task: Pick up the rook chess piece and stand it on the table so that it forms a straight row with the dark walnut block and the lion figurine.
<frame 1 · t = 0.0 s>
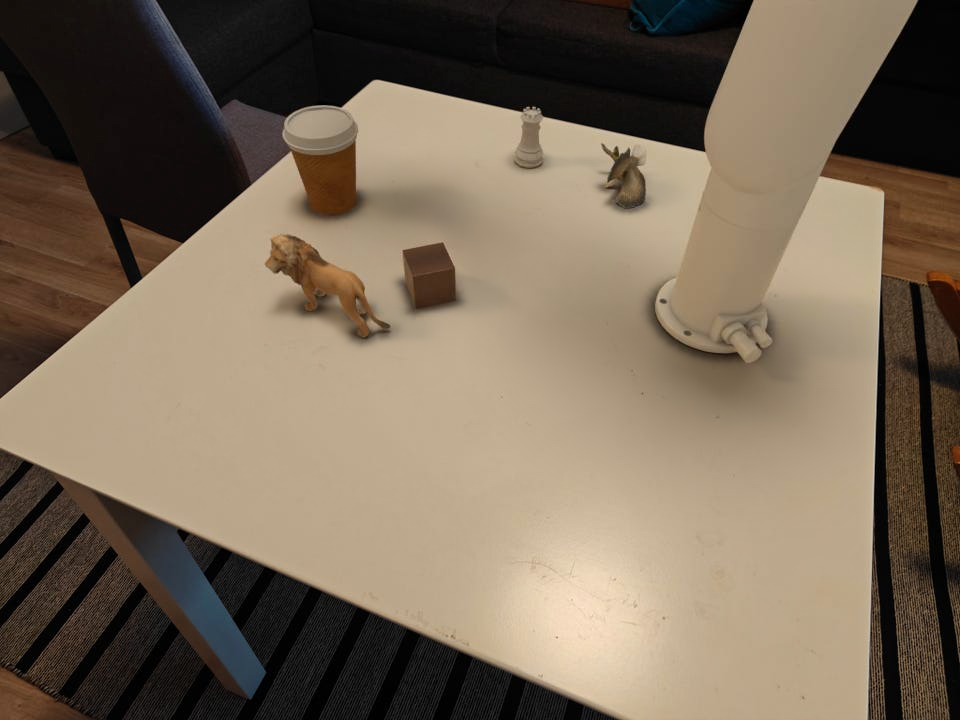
rook chess piece: (528, 162, 98), on the table
horned animal figurine: (620, 190, 94), on the table
lion figurine: (331, 313, 76), on the table
walnut block: (430, 291, 78), on the table
disposable coffee cup: (333, 203, 91), on the table
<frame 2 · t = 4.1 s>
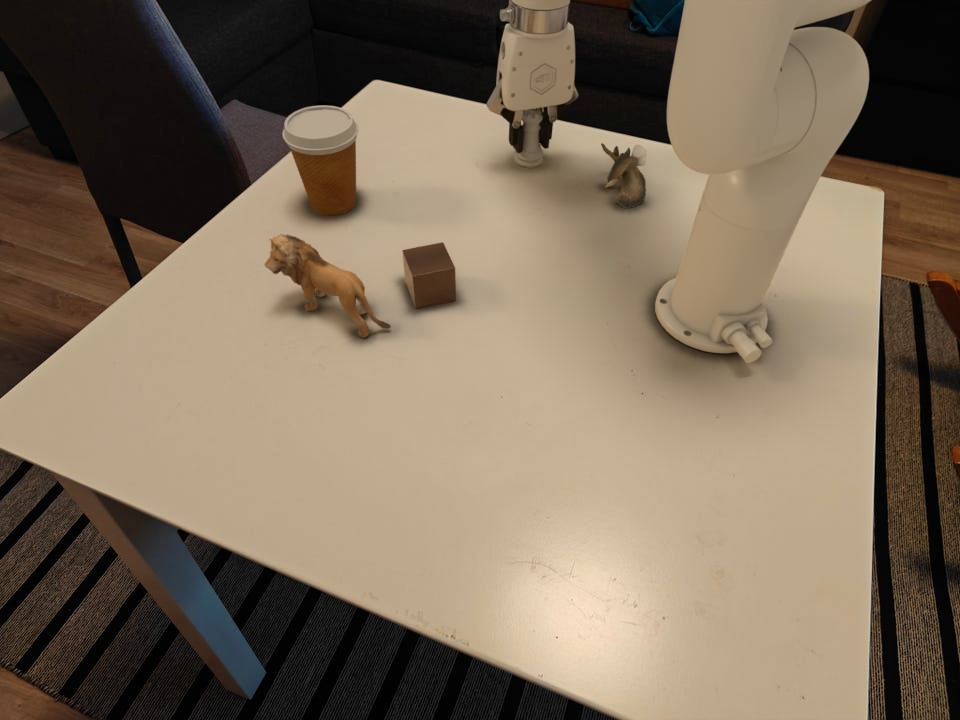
hand: (529, 145, 96), 3 cm above the table, tool pointing down, fingers closed on rook chess piece, 3 cm apart
rook chess piece: (528, 162, 98), on the table, touching gripper
everything else where it was.
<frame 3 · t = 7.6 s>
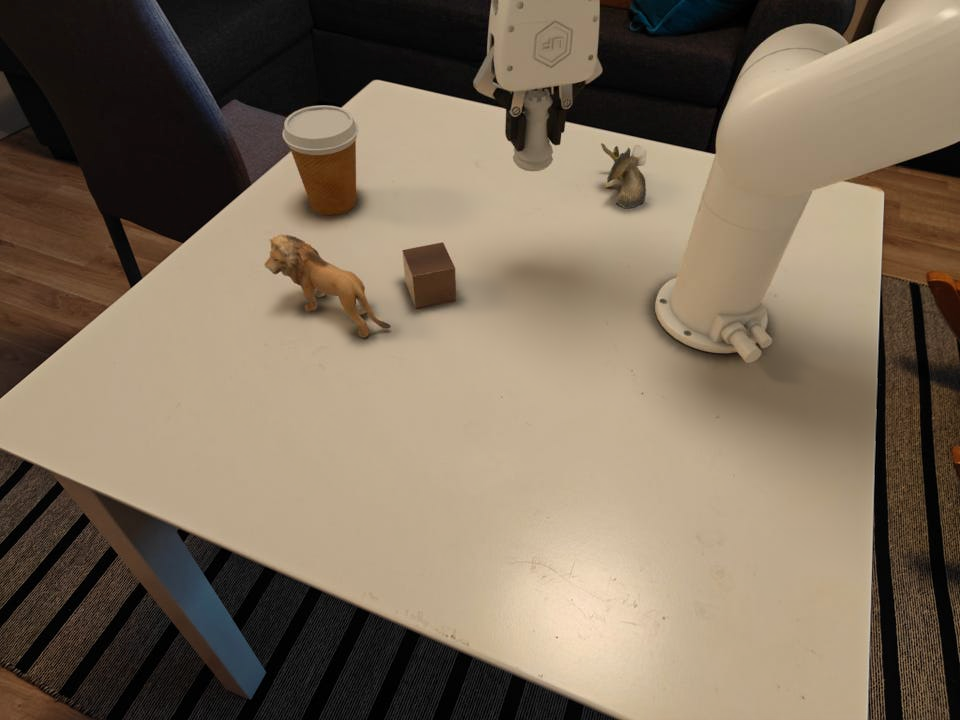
hand: (534, 140, 70), 17 cm above the table, tool pointing down, fingers closed on rook chess piece, 3 cm apart
rook chess piece: (532, 163, 72), point 14 cm above the table, touching gripper
everything else where it was.
when the fingers open (3 cm above the table, at t = 11.2 s): rook chess piece stays where it is, on the table.
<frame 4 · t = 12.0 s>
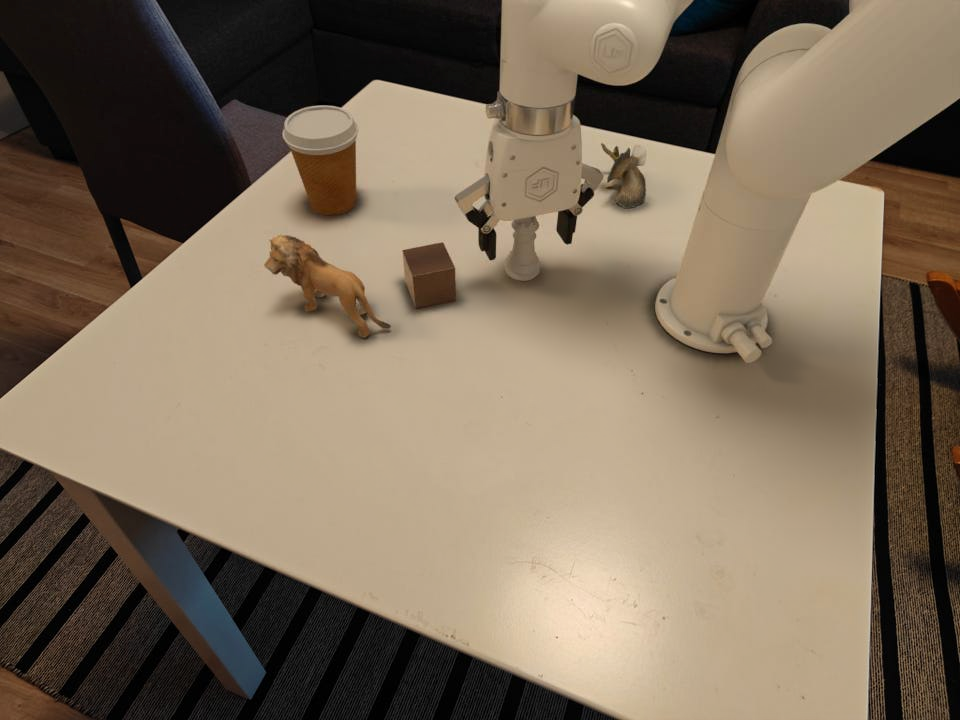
hand: (526, 245, 78), 4 cm above the table, tool pointing down, fingers open, 9 cm apart
rook chess piece: (521, 272, 81), on the table
everything else where it was.
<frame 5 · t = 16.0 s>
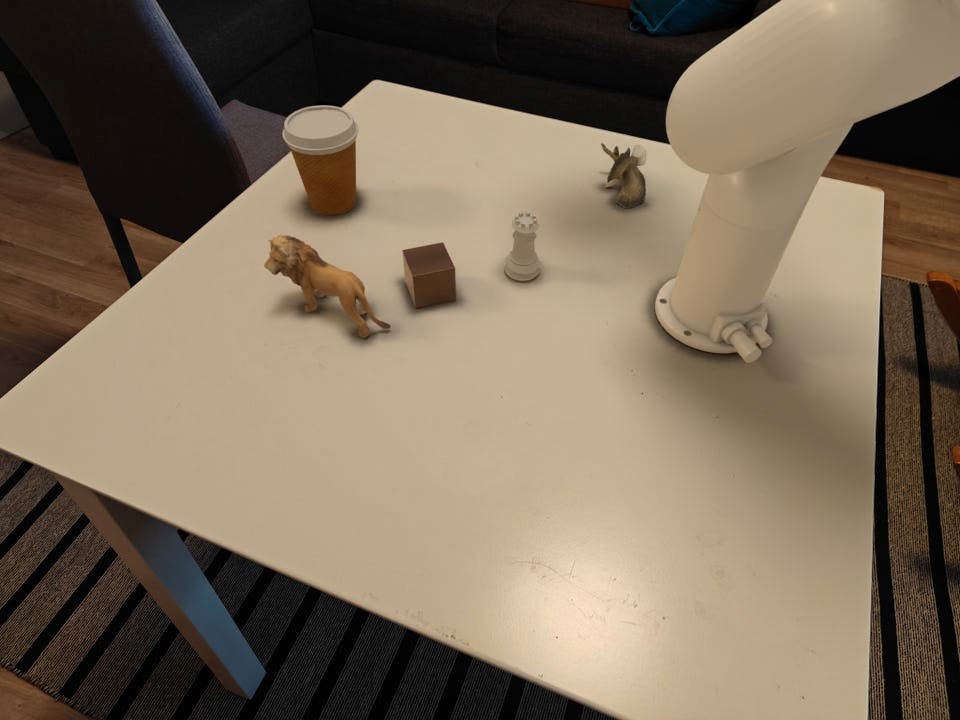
nothing on the table moved.
at the end: rook chess piece 0.1 cm from the target spot on the table beside the walnut block, on the table; rook chess piece tilted 0°; lion figurine moved 0.2 cm from its start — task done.
